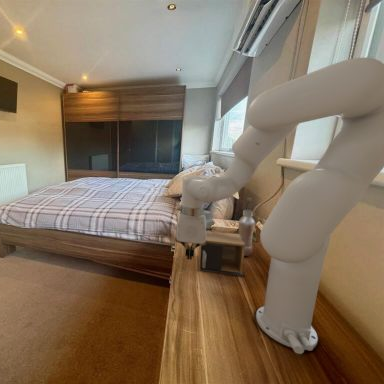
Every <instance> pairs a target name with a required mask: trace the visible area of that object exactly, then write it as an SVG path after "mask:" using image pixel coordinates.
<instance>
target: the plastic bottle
mask: <svg viewBox="0 0 384 384" xmlns="http://www.w3.org/2000/svg"><path fill="white" fill-rule="evenodd" d="M253 217H254V211H253V210H251V209H250V210H246V209H243V211H242V216H241V217H240V218H239V220H238V228H239V235H240V237H241V239H242V240H243V242H244V243H245V251H244V257H248V256H251V255H252V254H253V250H254V249H253V241H252V237H253V232H254V231H255V228H256V225H257V224H256V221H255V219H254V218H253Z"/></svg>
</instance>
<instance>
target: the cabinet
mask: <svg viewBox="0 0 384 384" xmlns="http://www.w3.org/2000/svg"><path fill="white" fill-rule="evenodd" d="M206 243H207V244H216V245H223V252H222V264H221V270H214V269H206V268H200V261H201V245H200V246H198V253H197V256H198V257H197V259H198V267H199V271H201V272H207V273H209V272H210V273H215V274H223V275H231V276H237V277H244V273H243V270H244V269H243V268H244V262H245V261H244V260H245V256H244V251H245V243H244V242H243V240H242V239H241V237H240V235H239V234H235V233H233V232H232V233H231V232H221V231H220V232H219V231H211V230H206Z"/></svg>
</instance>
